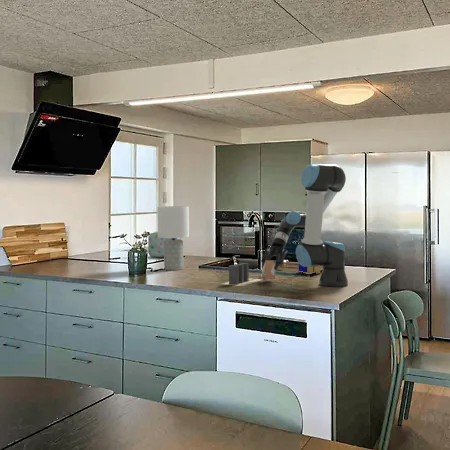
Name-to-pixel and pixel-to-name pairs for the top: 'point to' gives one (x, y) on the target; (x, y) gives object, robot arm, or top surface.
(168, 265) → the lamp
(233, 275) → the dark grey block
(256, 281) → the birch board
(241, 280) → the grey rectangular slab
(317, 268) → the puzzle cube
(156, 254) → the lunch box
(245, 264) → the dark grey block
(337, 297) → the top surface
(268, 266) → the salmon orange block
